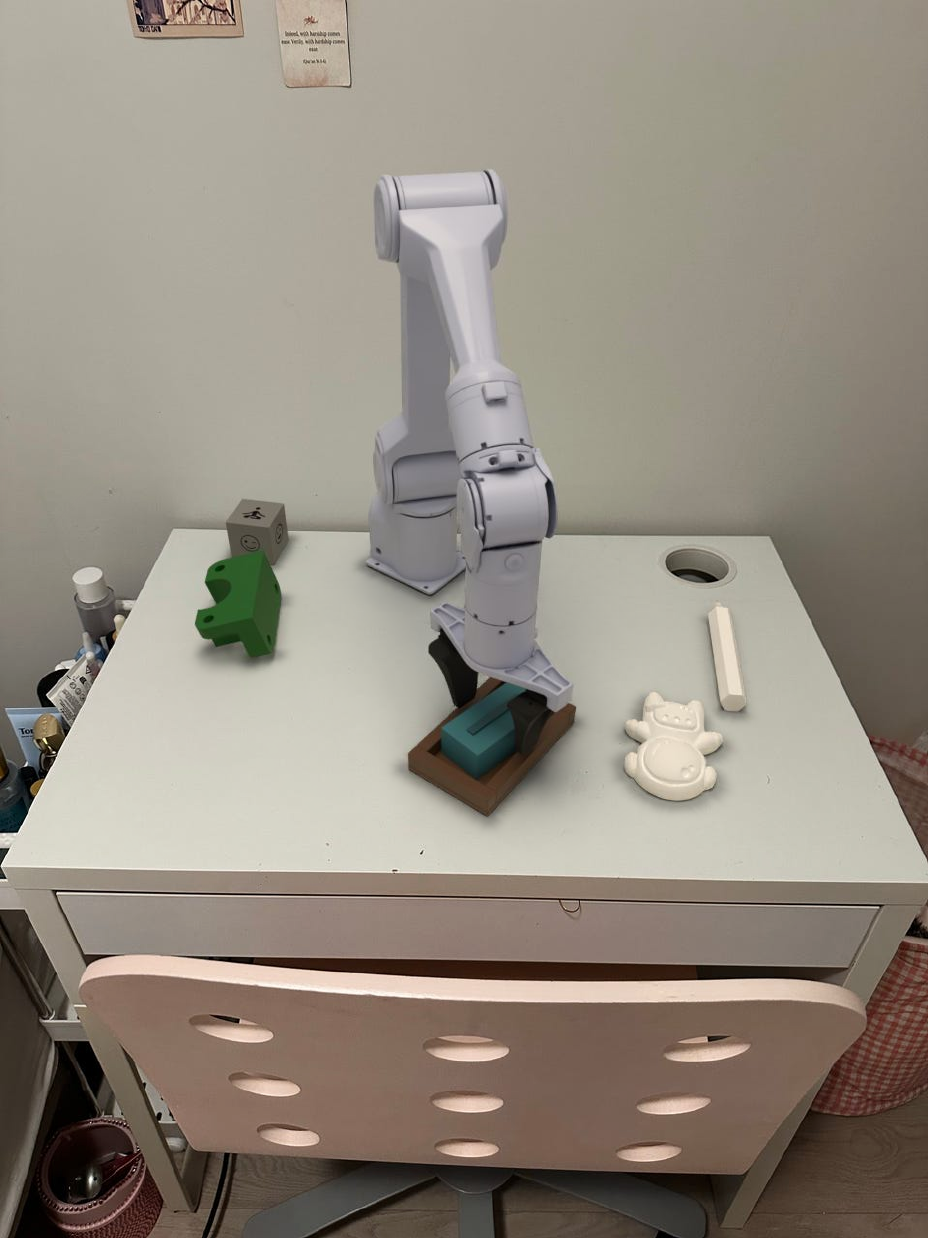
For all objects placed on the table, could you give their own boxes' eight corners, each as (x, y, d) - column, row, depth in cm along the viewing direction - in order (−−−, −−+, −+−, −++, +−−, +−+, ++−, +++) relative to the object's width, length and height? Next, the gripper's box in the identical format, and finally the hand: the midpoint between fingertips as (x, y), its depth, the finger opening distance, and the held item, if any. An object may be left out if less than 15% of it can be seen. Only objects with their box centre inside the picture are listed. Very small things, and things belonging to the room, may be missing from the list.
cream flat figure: (726, 716, 87) (733, 693, 85) (710, 812, 78) (716, 788, 77) (634, 694, 89) (638, 671, 87) (608, 785, 81) (612, 761, 79)
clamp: (239, 638, 102) (213, 559, 99) (292, 625, 101) (267, 546, 99) (208, 676, 90) (177, 588, 88) (266, 662, 90) (237, 573, 87)
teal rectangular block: (476, 780, 80) (477, 753, 78) (440, 752, 82) (440, 725, 80) (546, 728, 85) (549, 700, 83) (510, 703, 87) (511, 675, 85)
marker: (715, 612, 101) (733, 715, 88) (700, 602, 100) (716, 705, 88) (732, 596, 99) (752, 699, 87) (716, 586, 99) (735, 689, 86)
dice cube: (232, 559, 106) (225, 522, 102) (248, 534, 109) (242, 498, 106) (274, 564, 105) (268, 527, 102) (288, 539, 109) (284, 503, 106)
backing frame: (487, 817, 78) (488, 800, 76) (408, 769, 82) (407, 753, 80) (574, 722, 86) (576, 706, 85) (499, 683, 90) (499, 667, 89)
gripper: (604, 623, 72) (587, 744, 81) (471, 545, 80) (469, 663, 88) (543, 666, 68) (532, 788, 77) (410, 579, 76) (414, 699, 85)
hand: (494, 723), depth 82 cm, fingers open, 7 cm apart
